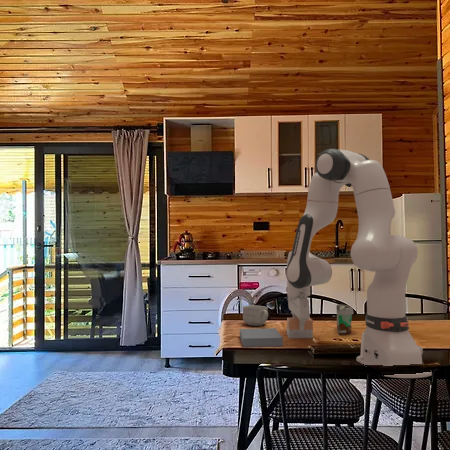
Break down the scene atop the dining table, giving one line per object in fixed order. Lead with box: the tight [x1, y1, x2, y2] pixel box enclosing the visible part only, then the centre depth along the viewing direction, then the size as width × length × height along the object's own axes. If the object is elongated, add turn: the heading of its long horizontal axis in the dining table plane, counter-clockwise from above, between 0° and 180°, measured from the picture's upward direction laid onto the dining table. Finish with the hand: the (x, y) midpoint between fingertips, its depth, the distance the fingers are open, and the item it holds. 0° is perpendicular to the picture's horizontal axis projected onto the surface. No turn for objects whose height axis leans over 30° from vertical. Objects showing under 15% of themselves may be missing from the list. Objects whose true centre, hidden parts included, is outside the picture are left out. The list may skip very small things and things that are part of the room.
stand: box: [239, 327, 284, 348], centre depth 148 cm, size 14×14×3 cm
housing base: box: [286, 326, 314, 339], centre depth 155 cm, size 5×9×4 cm, turn 91°
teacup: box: [242, 304, 269, 327], centre depth 173 cm, size 14×11×8 cm
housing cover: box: [286, 317, 314, 330], centre depth 155 cm, size 5×9×4 cm, turn 89°
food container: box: [336, 304, 354, 336], centre depth 161 cm, size 12×6×10 cm, turn 168°
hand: (298, 326), depth 155 cm, fingers open, 8 cm apart
